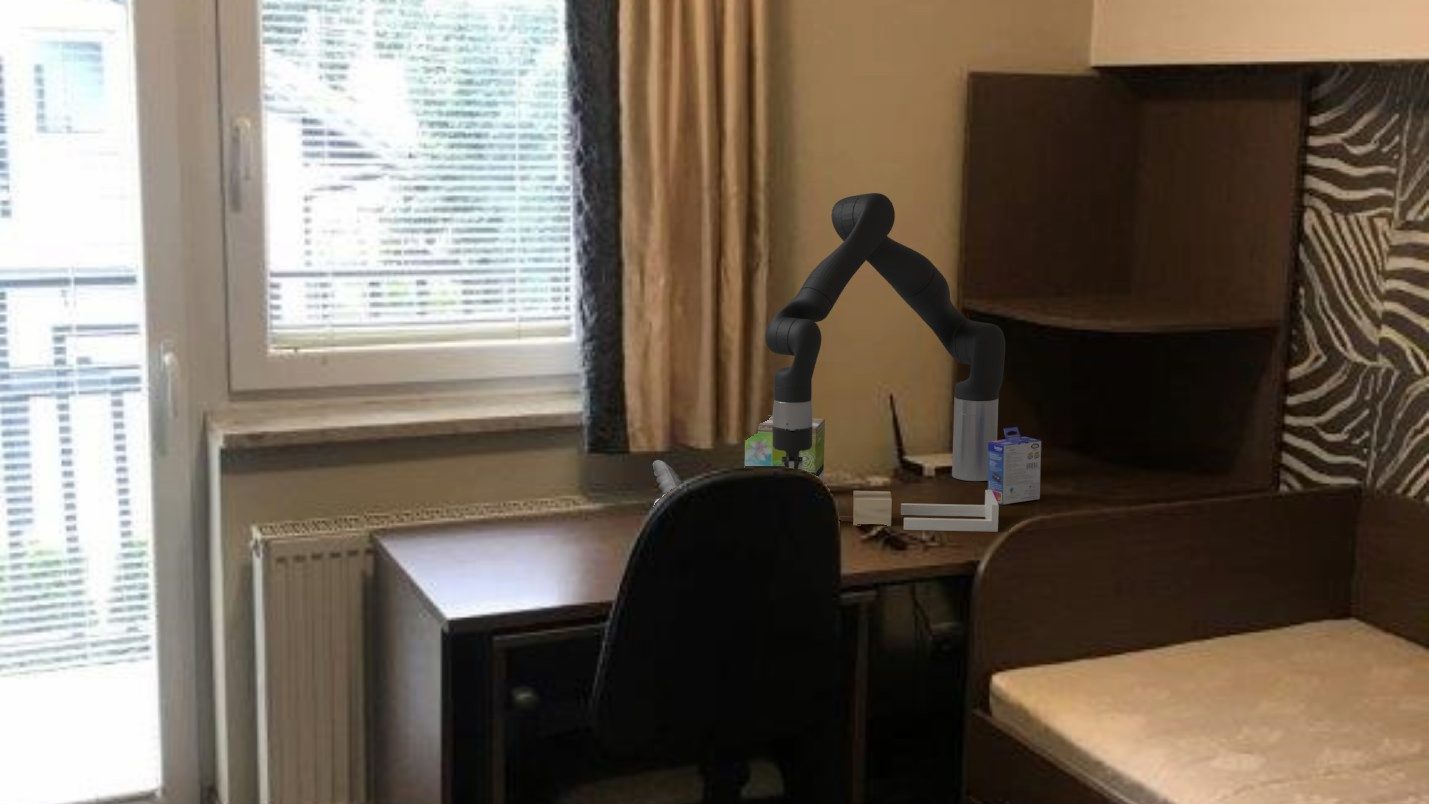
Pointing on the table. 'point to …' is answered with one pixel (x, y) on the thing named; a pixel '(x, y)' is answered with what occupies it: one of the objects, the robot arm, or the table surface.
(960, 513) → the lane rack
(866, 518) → the beech mallet
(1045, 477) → the table surface
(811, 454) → the tea box
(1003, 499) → the ink cartridge box
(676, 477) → the grey ribbed curved piece
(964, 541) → the table surface
